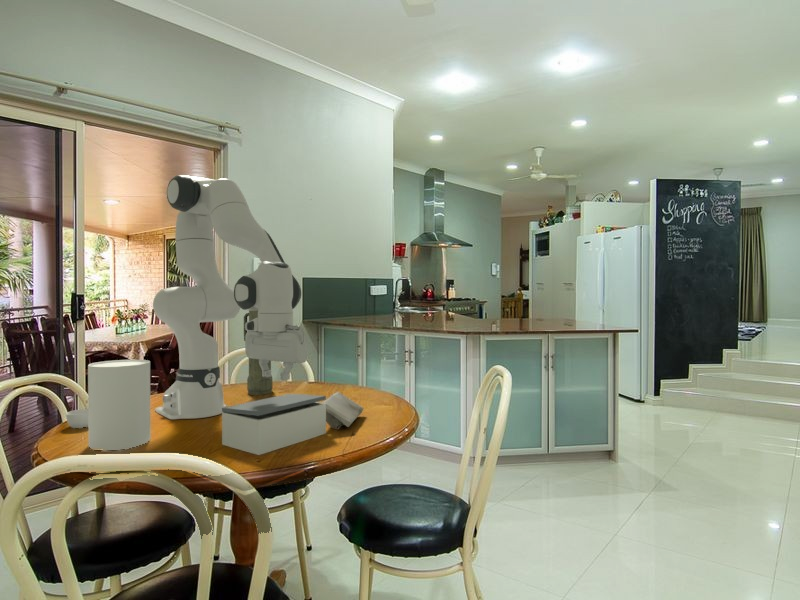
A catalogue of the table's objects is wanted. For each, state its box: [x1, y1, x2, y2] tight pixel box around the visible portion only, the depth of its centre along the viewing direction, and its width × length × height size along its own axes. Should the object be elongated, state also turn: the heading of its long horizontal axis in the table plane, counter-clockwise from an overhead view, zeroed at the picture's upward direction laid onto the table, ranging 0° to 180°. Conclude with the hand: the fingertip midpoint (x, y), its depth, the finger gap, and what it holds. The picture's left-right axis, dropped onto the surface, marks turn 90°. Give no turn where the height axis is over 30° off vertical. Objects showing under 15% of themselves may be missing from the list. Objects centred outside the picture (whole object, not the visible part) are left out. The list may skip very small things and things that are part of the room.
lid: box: [222, 393, 327, 416], centre depth 129 cm, size 14×22×1 cm, turn 144°
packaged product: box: [321, 391, 364, 431], centre depth 143 cm, size 18×5×10 cm
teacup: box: [65, 408, 88, 429], centre depth 140 cm, size 10×10×5 cm
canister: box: [87, 359, 152, 451], centre depth 125 cm, size 14×14×20 cm
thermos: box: [243, 311, 273, 396], centre depth 183 cm, size 9×12×35 cm
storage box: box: [221, 401, 327, 456], centre depth 129 cm, size 14×22×8 cm, turn 144°
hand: (275, 378), depth 128 cm, fingers open, 6 cm apart
